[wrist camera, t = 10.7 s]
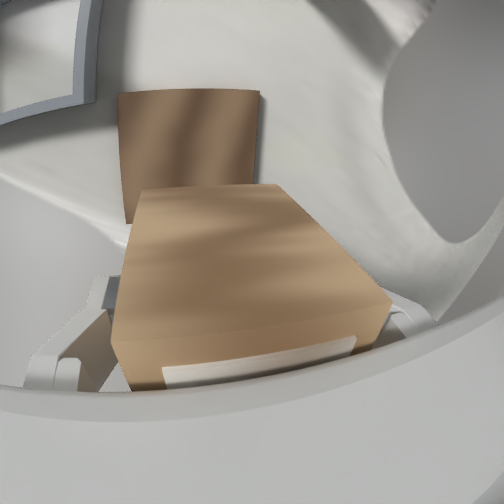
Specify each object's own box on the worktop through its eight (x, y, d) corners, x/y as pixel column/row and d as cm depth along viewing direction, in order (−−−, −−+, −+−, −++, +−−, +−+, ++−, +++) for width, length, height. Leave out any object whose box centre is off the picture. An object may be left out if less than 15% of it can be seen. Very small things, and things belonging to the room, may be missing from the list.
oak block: (276, 184, 11) (395, 305, 5) (265, 289, 13) (330, 424, 7) (141, 189, 10) (109, 346, 4) (155, 300, 12) (165, 456, 6)
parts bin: (110, -37, 13) (103, -53, 10) (95, 102, 21) (83, 103, 18) (-16, 7, 9) (-34, 2, 6) (-26, 134, 17) (-45, 142, 14)
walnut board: (256, 90, 25) (259, 90, 24) (248, 211, 31) (250, 215, 30) (120, 93, 22) (118, 93, 21) (127, 219, 28) (126, 224, 27)
